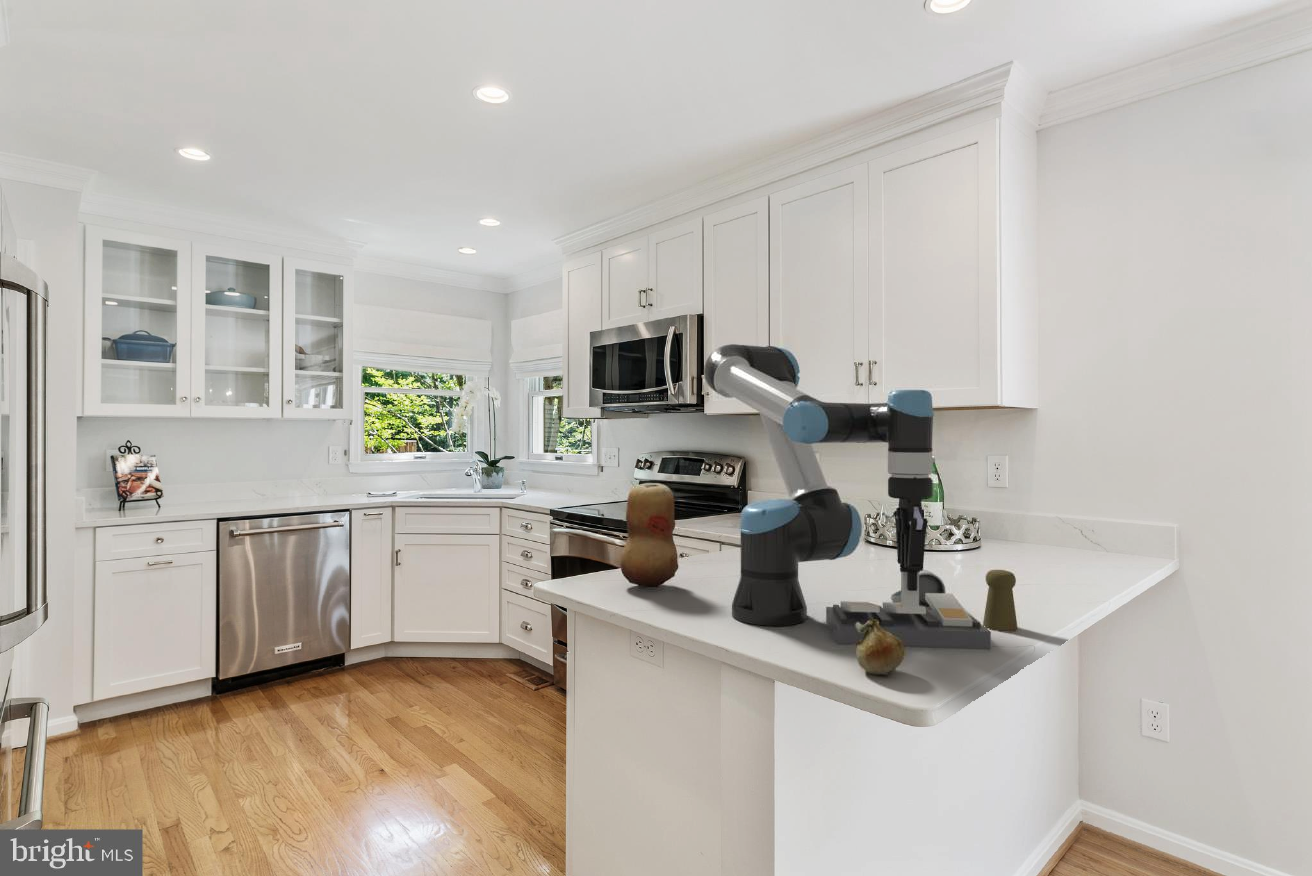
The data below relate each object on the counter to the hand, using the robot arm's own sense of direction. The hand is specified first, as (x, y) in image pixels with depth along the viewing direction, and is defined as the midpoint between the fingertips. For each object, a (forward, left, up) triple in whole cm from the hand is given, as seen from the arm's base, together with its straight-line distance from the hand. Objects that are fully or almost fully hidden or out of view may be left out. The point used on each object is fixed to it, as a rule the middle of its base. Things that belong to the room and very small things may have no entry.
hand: (909, 607), depth 123 cm
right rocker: (+8, +4, -1) cm, 9 cm away
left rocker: (-8, +4, -1) cm, 9 cm away
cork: (+20, +11, -6) cm, 24 cm away
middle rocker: (0, +4, -1) cm, 4 cm away
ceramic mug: (+9, +27, -7) cm, 29 cm away
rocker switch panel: (0, +4, -6) cm, 8 cm away
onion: (-9, -17, -7) cm, 20 cm away
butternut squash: (-51, +37, -6) cm, 64 cm away
